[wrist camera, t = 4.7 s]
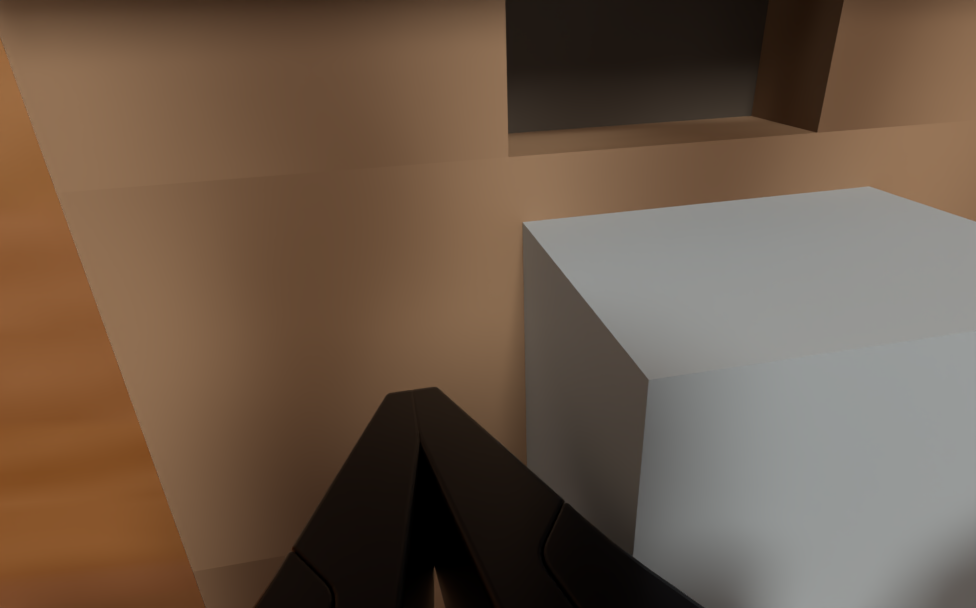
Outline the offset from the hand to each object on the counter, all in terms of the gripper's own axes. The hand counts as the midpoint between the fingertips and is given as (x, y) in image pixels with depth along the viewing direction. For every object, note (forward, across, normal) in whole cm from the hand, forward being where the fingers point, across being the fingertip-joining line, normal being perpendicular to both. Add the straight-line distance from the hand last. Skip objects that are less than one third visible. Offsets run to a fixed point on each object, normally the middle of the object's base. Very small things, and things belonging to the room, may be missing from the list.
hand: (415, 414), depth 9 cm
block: (+1, -5, 0) cm, 5 cm away
